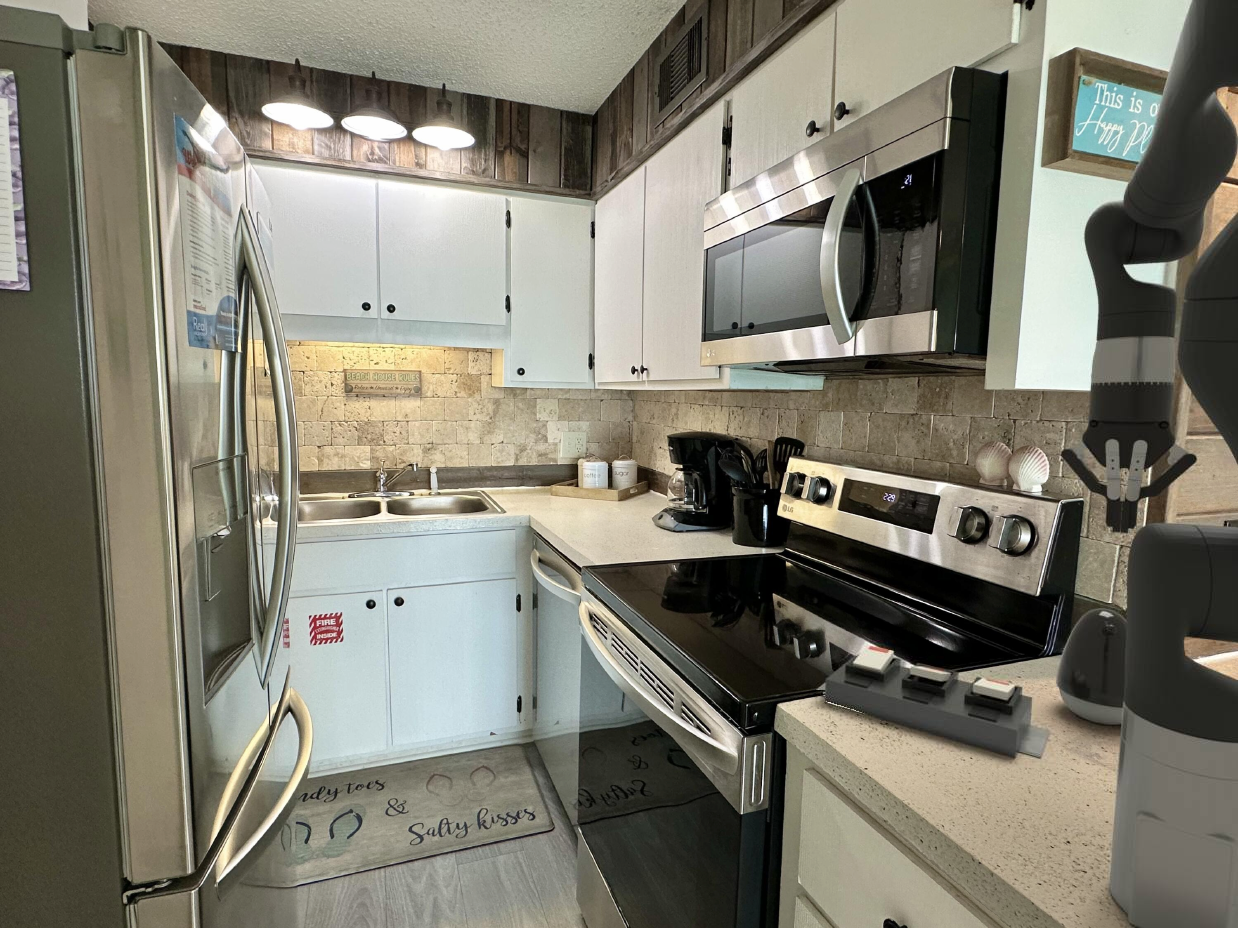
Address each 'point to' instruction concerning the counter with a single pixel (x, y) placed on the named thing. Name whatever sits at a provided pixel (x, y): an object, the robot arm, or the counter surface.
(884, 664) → the rocker
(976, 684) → the rocker
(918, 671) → the middle rocker
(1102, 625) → the pump dispenser
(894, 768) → the counter surface
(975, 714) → the rocker switch box
